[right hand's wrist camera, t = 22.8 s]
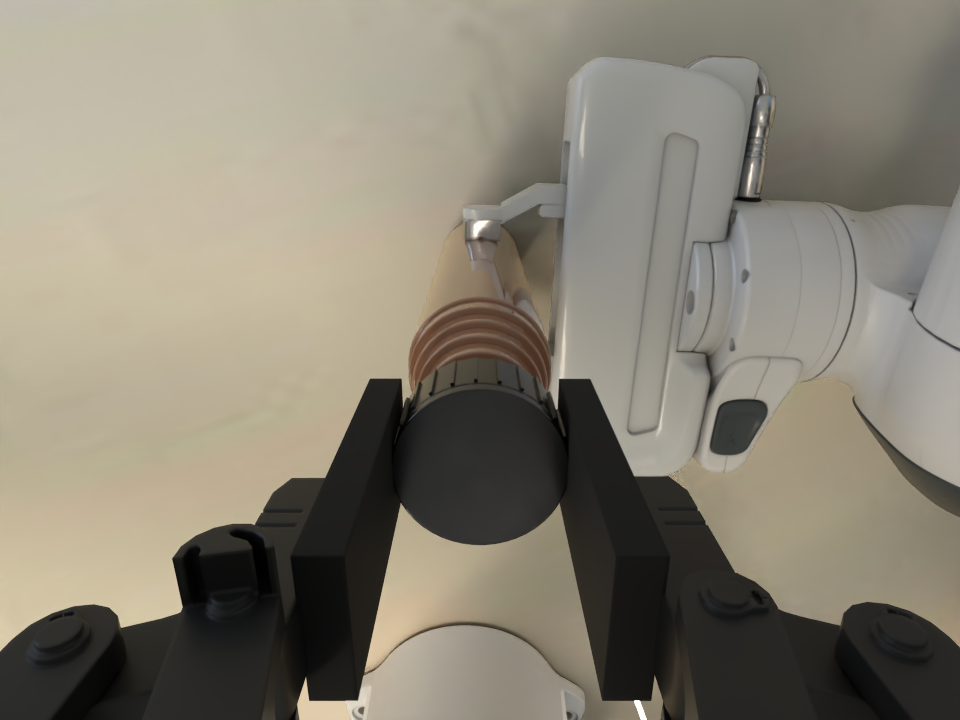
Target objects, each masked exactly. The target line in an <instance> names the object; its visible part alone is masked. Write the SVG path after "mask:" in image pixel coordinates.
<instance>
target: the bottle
mask: <svg viewBox="0 0 960 720" xmlns="http://www.w3.org/2000/svg"><path fill="white" fill-rule="evenodd" d="M474 356H478V358H488V359H495V360H496V358H500V360H501V361H504V362H507V363H510V364H513V365H515V366H517V365H520V366H521V369H523V370H525V371H526V372H528V373H529V374H530V375H532V376H533V377H535V376H537V377H538V379H539V382H540V383H541V384H542V385H543V387H544V388H545V389H546V391H547V392H548V391H549V387H550V382H551V353H550V348H549V345H548V342H547V339H546V336H545V333H544V330H543V327H542V324H541V321H540V318H539V315H538V312H537V309H536V306H535V303H534V300H533V297H532V293H531V290H530V287H529V284H528V281H527V278H526V275H525V272H524V269H523V266H522V263H521V260H520V257H519V254H518V251H517V248H516V245H515V242H514V240H513V238H512V237H511V235H510V234H509V233H508V231H507V230H506V229H505V228H503V227H502V226H501V232H500V241H488V240H484V239H483V238H482V237H481V238H479V239H478V240H465V239H463V223H462V224H460V225H459V226H457V227H456V228H455V229H454V230H453V231H452V232H451V233H450V234H449V235H448V237H447V239H446V241H445V243H444V246H443V249H442V252H441V255H440V258H439V261H438V264H437V267H436V270H435V274H434V277H433V280H432V283H431V286H430V289H429V292H428V295H427V298H426V301H425V304H424V307H423V310H422V314H421V317H420V320H419V323H418V326H417V329H416V332H415V335H414V338H413V341H412V345H411V348H410V353H409V382H410V387H411V391H412V393H413V391H414V390H415V389H416V385H417V383H418V382H419V381H420V382H422V381H423V380H424V379H425V378H426V377H427V376H429V375H430V374H431V373H432V372H433V369H435V368H436V369H439V368H441V367H443V366H445V365H447V364H450V363H452V361H453V360H456V361H461V360H465V359H472V358H474Z"/></svg>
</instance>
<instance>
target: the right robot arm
mask: <svg viewBox="0 0 960 720" xmlns="http://www.w3.org/2000/svg"><path fill="white" fill-rule="evenodd" d="M557 409H559V412H560V415H561V419H562V422H563V426H564V429H565V433H566V436H567V438H566V439H565V443H566V446H567V451H568V476H567V487H566V489H565V492H564V495H563V497H562V499H561V500H560V506H561V511H562V516H563V520H564V525H565V530H566V534H567V539H568V544H569V548H570V553H571V558H572V562H573V567H574V571H575V576H576V581H577V585H578V590H579V595H580V599H581V604H582V609H583V613H584V618H585V623H586V627H587V632H588V636H589V641H590V646H591V650H592V655H593V660H594V664H595V669H596V674H597V678H598V683H599V687H600V692H601V697H602V701H651V697H652V690H653V682H654V675H655V677H656V680H657V683H658V686H659V689H660V692H661V695H662V698H663V708H662V715H661V720H960V647H959V646H958V645H957V644H956V643H955V642H954V641H953V640H952V639H951V638H950V637H949V636H947V635H946V634H945V633H944V632H942V631H941V630H940V629H939V628H937V627H936V626H935V625H934V624H932V623H931V622H929V621H927V620H925V619H924V618H922V617H920V616H918V615H916V614H914V613H912V612H910V611H908V610H905V609H901V608H898V607H895V606H892V605H889V604H882V603H872V602H865V603H861V604H856V605H852V606H851V607H850V608H849V609H848V610H847V611H846V612H845V613H844V614H843V617H842V621H841V625H840V626H839V625H835V624H830V623H826V622H822V621H817V620H813V619H809V618H804V617H800V616H797V615H793V614H790V613H787V612H783V611H781V610H779V609H778V607H777V605H776V604H775V602H774V601H773V599H772V597H771V596H770V594H769V593H768V592H767V591H765V590H764V589H763V588H762V587H761V586H759V585H758V584H757V583H756V582H754V581H752V580H750V579H748V578H746V577H744V576H742V575H740V574H738V573H735V572H734V570H733V568H732V566H731V565H730V563H729V561H728V560H727V558H726V556H725V554H724V553H723V551H722V549H721V547H720V546H719V544H718V542H717V541H716V539H715V537H714V535H713V534H712V532H711V530H710V529H709V527H708V525H706V524H705V520H704V518H703V517H702V515H701V513H700V511H697V506H696V505H695V503H694V501H693V499H692V498H691V496H690V494H689V493H688V491H687V490H686V489H684V488H683V487H682V486H681V485H679V484H678V483H677V482H675V481H674V480H673V479H671V478H670V477H669V476H634V475H633V472H632V470H631V468H630V466H629V464H628V461H627V459H626V457H625V455H624V452H623V450H622V448H621V446H620V444H619V441H618V439H617V437H616V435H615V432H614V430H613V428H612V426H611V424H610V421H609V419H608V417H607V415H606V412H605V410H604V408H603V406H602V404H601V401H600V399H599V397H598V395H597V393H596V390H595V388H594V386H593V384H592V381H591V379H559V388H558V408H557ZM402 411H403V400H402V380H401V379H370V380H369V382H368V385H367V387H366V389H365V391H364V393H363V396H362V398H361V400H360V402H359V405H358V407H357V409H356V411H355V413H354V416H353V418H352V420H351V422H350V425H349V427H348V429H347V431H346V433H345V436H344V438H343V440H342V442H341V444H340V447H339V449H338V451H337V453H336V456H335V458H334V460H333V462H332V464H331V467H330V469H329V471H328V473H327V476H326V478H292V479H290V480H289V481H288V482H286V483H285V484H284V485H283V486H281V487H280V488H279V489H277V490H276V491H275V492H273V494H272V496H271V497H270V499H269V501H268V503H267V504H266V506H265V508H264V509H263V513H261V515H260V516H259V518H258V520H257V522H256V523H255V525H252V524H230V525H226V526H221V527H216V528H213V529H211V530H208V531H206V532H204V533H201V534H199V535H197V536H195V537H194V538H192V539H191V540H189V541H188V542H187V543H185V544H184V545H182V546H181V547H180V549H179V550H178V552H177V553H176V554H175V556H174V557H173V558H172V559H173V564H174V569H175V573H176V578H177V582H178V587H179V592H180V596H181V601H182V605H183V608H182V611H181V612H180V613H178V614H175V615H172V616H169V617H165V618H162V619H158V620H154V621H149V622H145V623H141V624H136V625H132V626H128V627H124V628H121V627H120V623H119V619H118V616H117V615H116V614H115V613H114V612H113V611H112V610H111V609H110V608H108V607H103V606H99V605H94V604H93V605H83V606H74V607H71V608H68V609H64V610H61V611H58V612H55V613H52V614H50V615H48V616H46V617H44V618H42V619H41V620H39V621H37V622H35V623H33V624H31V625H30V626H28V627H27V628H26V629H25V630H23V631H22V632H21V633H20V634H18V635H17V636H16V637H15V638H13V639H12V640H11V641H10V642H9V643H8V644H7V645H6V646H5V647H4V648H3V649H2V650H1V651H0V720H299V715H298V708H297V703H298V700H299V696H300V693H301V690H302V687H303V684H304V681H305V678H306V680H307V687H308V694H309V701H358V699H359V694H360V689H361V685H362V680H363V675H364V671H365V666H366V661H367V657H368V652H369V648H370V643H371V638H372V634H373V629H374V624H375V620H376V615H377V610H378V606H379V601H380V596H381V592H382V587H383V583H384V578H385V573H386V569H387V564H388V559H389V555H390V550H391V545H392V541H393V536H394V531H395V527H396V522H397V518H398V513H399V508H400V504H401V502H400V500H399V498H398V496H397V494H396V491H395V488H394V484H393V469H392V453H393V449H394V443H395V439H396V435H397V432H398V428H399V426H398V425H399V421H400V418H401V414H402Z"/></svg>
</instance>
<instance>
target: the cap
mask: <svg viewBox="0 0 960 720" xmlns="http://www.w3.org/2000/svg"><path fill="white" fill-rule="evenodd" d="M398 426H399V428H398V432H397V435H396V439H395V443H394V449H393V453H392V469H393V484H394V488H395V491H396V494H397V496H398V498H399V500H400V502H401V503H402V505H403V506H404V508H405V509H406V511H407V512H408V513H409V514H410V515H411V516H412V517H413V519H414V520H415V521H417V522H418V523H419V524H420V525H421V526H423V527H424V528H426V529H427V530H429V531H430V532H432V533H434V534H436V535H438V536H440V537H442V538H445V539H448V540H451V541H454V542H458V543H463V544H471V545H489V544H497V543H502V542H507V541H510V540H513V539H516V538H518V537H520V536H523V535H525V534H527V533H528V532H530V531H532V530H533V529H535V528H536V527H538V526H539V525H540V524H541V523H543V522H544V521H545V520H546V519H547V518H548V517H549V516H550V515H551V514H552V512H553V511H554V510H555V508H556V507H557V506H558V504H559V502H560V500H561V499H562V497H563V495H564V492H565V489H566V487H567V476H568V451H567V446H566V443H565V439H566V438H567V436H566V433H565V429H564V426H563V422H562V419H561V415H560V412H559V409H556V408H555V405H554V401H553V398H552V394H551V392H550V391H549V392H547V391H546V389H545V388H544V387H543V385H542V384H541V383H540V382H539V379H538V377H537V376H535V377H533V376H532V375H530V374H529V373H528V372H526V371H525V370H523V369H521V366H520V365H517V366H515V365H513V364H510V363H507V362H504V361H501V360H500V358H496V360H495V359H488V358H478V356H474V358H472V359H465V360H461V361H456V360H453V361H452V363H450V364H447V365H445V366H443V367H441V368H439V369H436V368H435V369H433V372H432V373H431V374H430V375H429V376H427V377H426V378H425V379H424V380H423V381H422V382H420V381H419V382H418V383H417V385H416V389H415V390H414V391H413V393H412V394H411V396H410V398H406V400H405V403H404V407H403V411H402V414H401V418H400V421H399V425H398Z"/></svg>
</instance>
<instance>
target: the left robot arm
mask: <svg viewBox="0 0 960 720" xmlns="http://www.w3.org/2000/svg"><path fill="white" fill-rule="evenodd" d="M757 83H758V87H759V95H755V91H756V85H757ZM775 112H776V97H775V96H774V95H769V84H768V80H767V77H766V75H765V73H764V71H763V70H762V68H761V67H760V66H759V65H758V64H757V63H756V62H754V61H752V60H751V59H749V58H745V57H741V56H714V55H710V56H704V57H701V58H698V59H696V60H694V61H692V62H691V63H689V64H688V65H687V66H686V67H685V68H683V67H678V66H673V65H668V64H662V63H657V62H651V61H644V60H636V59H626V58H616V57H600V58H595V59H592V60H590V61H589V62H587V63H586V64H584V65H583V66H582V67H581V68H580V69H579V70H578V71H577V72H576V73H575V74H574V75H573V76H572V77H571V78H570V80H569V82H568V86H567V96H566V109H565V123H564V136H563V149H562V163H561V176H560V184H554V183H536V184H534V185H532V186H530V187H528V188H526V189H525V190H523V191H521V192H519V193H517V194H516V195H514V196H512V197H510V198H508V199H507V200H505V201H503V202H501V205H475V204H471V205H464V206H463V239H465V240H478V239H479V238H481V237H482V238H483V239H484V240H488V241H500V232H501V223H502V224H503V223H505V222H506V221H508V220H510V219H512V218H514V217H516V216H518V215H520V214H522V213H524V212H525V211H527V210H529V209H531V208H533V207H535V206H536V208H535V210H536V211H537V212H538V214H539V215H540V216H541V217H543V218H557V230H556V243H555V256H554V270H553V283H552V296H551V310H550V323H549V336H548V345H549V348H550V353H551V382H550V387H549V391H550V392H551V394H552V398H553V401H554V405H555V408H556V409H557V408H558V388H559V379H591V381H592V384H593V386H594V388H595V390H596V393H597V395H598V397H599V399H600V401H601V404H602V406H603V408H604V410H605V412H606V415H607V417H608V419H609V421H610V424H611V426H612V428H613V430H614V432H615V435H616V437H617V439H618V441H619V444H620V446H621V448H622V450H623V452H624V455H625V457H626V459H627V461H628V464H629V466H630V468H631V470H632V472H633V475H634V476H667V475H670V474H672V473H674V472H676V471H678V470H680V469H681V468H683V467H684V466H685V465H686V464H687V463H688V462H689V461H690V460H691V458H692V456H693V457H694V459H695V460H696V461H697V462H698V463H699V464H700V465H701V466H702V467H703V468H704V469H705V470H707V471H710V472H716V473H728V472H733V471H735V470H737V469H739V468H740V467H741V466H742V465H743V463H744V462H745V460H746V459H747V457H748V456H749V454H750V452H751V450H752V449H753V447H754V445H755V443H756V442H757V440H758V438H759V437H760V435H761V433H762V431H763V430H764V428H765V427H766V425H767V423H768V422H769V420H770V419H771V417H772V415H773V414H774V412H775V411H776V409H777V408H778V406H779V405H780V404H781V402H782V401H783V399H784V398H785V397H786V395H787V394H788V393H789V391H790V390H791V389H792V387H793V386H794V385H795V383H796V382H806V381H811V380H817V379H834V380H838V381H840V382H842V383H845V384H846V385H848V386H849V387H850V388H851V389H852V390H853V392H854V395H855V396H853V403H854V405H855V407H856V409H857V411H858V413H859V414H860V416H861V418H862V419H863V421H864V422H865V424H866V425H867V426H868V428H869V429H870V431H871V432H872V434H873V435H874V436H875V438H876V439H877V441H878V442H879V443H880V445H881V446H882V447H883V449H884V450H885V452H886V453H887V454H888V456H889V457H890V458H891V460H892V461H893V463H894V464H895V465H896V467H897V468H898V470H899V471H900V472H901V473H902V475H903V476H904V477H905V478H906V479H907V480H908V481H909V482H910V483H911V484H912V485H913V486H914V487H915V488H916V489H917V490H919V491H920V492H921V493H922V494H923V495H924V496H926V497H927V498H928V499H929V500H931V501H932V502H933V503H935V504H936V505H938V506H939V507H941V508H943V509H944V510H946V511H948V512H950V513H952V514H954V515H956V516H959V517H960V186H959V189H958V191H957V194H956V196H955V199H954V202H953V204H952V207H948V206H931V205H897V206H891V207H887V208H883V209H879V210H875V211H870V212H859V211H853V210H850V209H847V208H845V207H842V206H839V205H836V204H832V203H826V202H810V201H778V200H761V199H760V193H761V189H762V182H763V177H764V171H765V165H766V155H767V152H766V150H767V145H766V144H767V143H768V139H767V138H768V137H769V132H770V127H772V125H773V122H774V118H775ZM733 198H735V199H733ZM549 391H548V392H549ZM345 702H346V706H347V709H348V712H349V715H350V719H351V720H581V718H582V716H583V713H584V711H585V694H584V692H583V690H582V689H581V688H580V687H578V686H577V685H575V684H574V683H572V682H570V681H568V680H567V679H565V678H563V677H561V676H559V675H558V674H557V673H556V672H555V671H554V670H553V669H552V668H551V667H550V665H549V664H548V663H547V661H546V660H545V659H544V658H543V656H542V655H541V654H540V653H539V652H538V651H537V650H536V649H534V648H533V647H532V646H531V645H529V644H528V643H526V642H525V641H523V640H521V639H520V638H518V637H516V636H514V635H511V634H509V633H506V632H504V631H500V630H497V629H493V628H489V627H483V626H473V625H458V626H447V627H442V628H437V629H433V630H430V631H427V632H424V633H421V634H419V635H417V636H414V637H413V638H411V639H409V640H407V641H406V642H404V643H403V644H401V645H400V646H398V647H397V648H396V649H395V650H394V651H393V652H392V653H391V654H390V655H389V656H388V657H387V658H386V660H385V661H384V662H383V663H382V664H381V665H380V666H379V667H378V668H377V669H376V670H375V671H373V672H370V673H368V674H366V675H364V676H363V680H362V685H361V689H360V694H359V699H358V701H345ZM634 702H635V704H636V707H637V710H638V712H639V715H640V718H641V720H646V717H645V714H644V711H643V709H642V706H641V703H640V701H634Z"/></svg>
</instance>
